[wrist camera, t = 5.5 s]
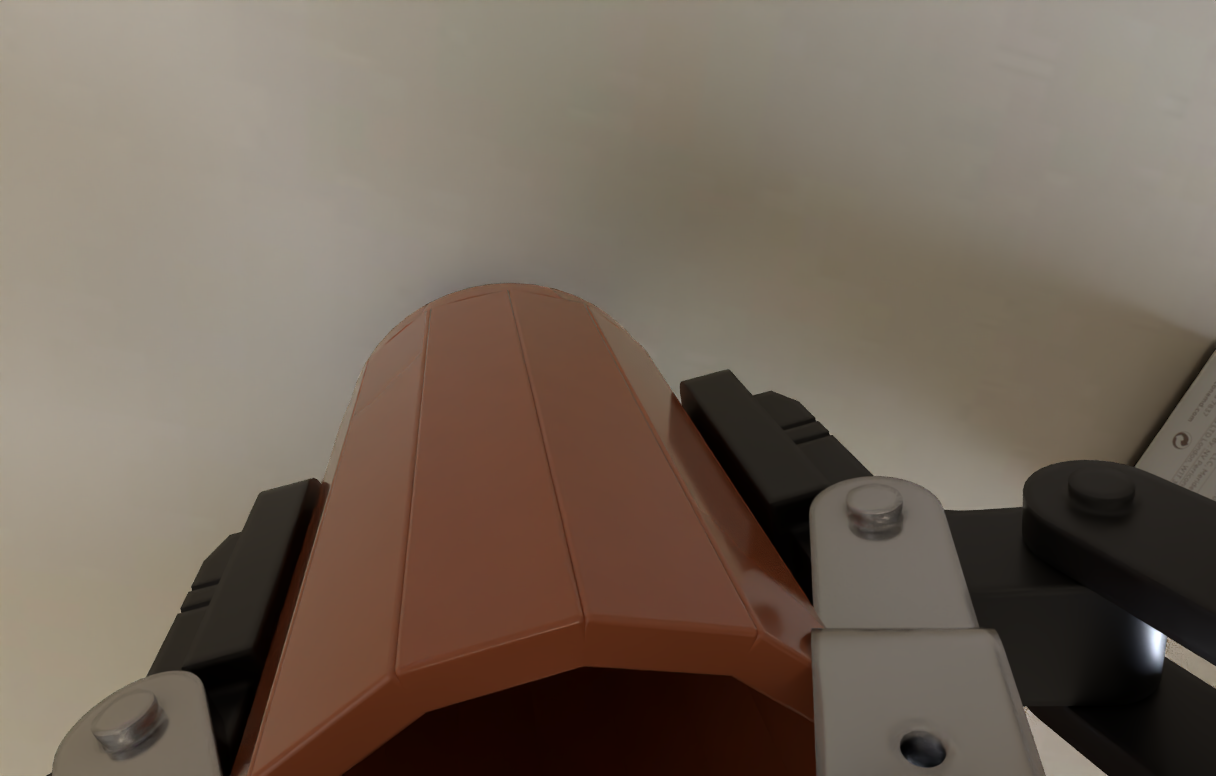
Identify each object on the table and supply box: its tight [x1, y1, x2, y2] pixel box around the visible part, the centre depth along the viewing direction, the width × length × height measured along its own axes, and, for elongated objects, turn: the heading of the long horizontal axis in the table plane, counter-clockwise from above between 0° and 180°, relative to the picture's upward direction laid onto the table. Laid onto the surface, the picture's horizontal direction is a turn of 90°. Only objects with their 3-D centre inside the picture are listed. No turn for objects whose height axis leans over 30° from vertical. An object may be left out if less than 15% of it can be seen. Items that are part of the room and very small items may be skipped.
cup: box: [230, 283, 826, 776], centre depth 9 cm, size 5×5×8 cm
